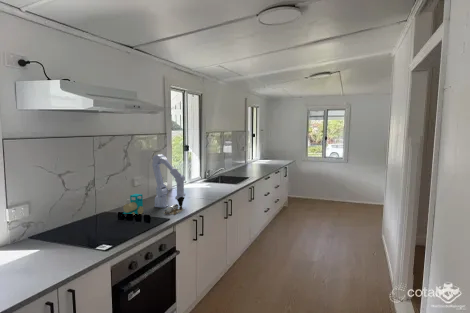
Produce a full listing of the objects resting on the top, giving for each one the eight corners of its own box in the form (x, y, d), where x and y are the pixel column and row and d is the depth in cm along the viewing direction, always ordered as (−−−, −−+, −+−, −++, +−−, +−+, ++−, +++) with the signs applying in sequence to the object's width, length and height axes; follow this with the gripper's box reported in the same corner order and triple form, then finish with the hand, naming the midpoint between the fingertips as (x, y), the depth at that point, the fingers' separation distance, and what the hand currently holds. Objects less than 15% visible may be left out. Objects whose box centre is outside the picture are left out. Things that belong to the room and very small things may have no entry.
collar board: (163, 213, 237) (163, 208, 237) (172, 208, 251) (172, 204, 250) (175, 214, 235) (175, 209, 234) (183, 209, 248) (183, 205, 248)
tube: (167, 214, 236) (170, 211, 234) (164, 210, 236) (167, 207, 235) (176, 209, 249) (179, 207, 248) (173, 205, 249) (176, 203, 248)
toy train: (120, 218, 226) (119, 198, 224) (135, 212, 241) (134, 193, 240) (129, 219, 223) (128, 198, 221) (143, 213, 238) (143, 194, 237)
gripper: (180, 191, 245) (181, 208, 246) (188, 188, 258) (188, 204, 260) (172, 191, 247) (173, 207, 248) (181, 188, 261) (181, 203, 262)
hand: (180, 206), depth 254 cm, fingers closed
